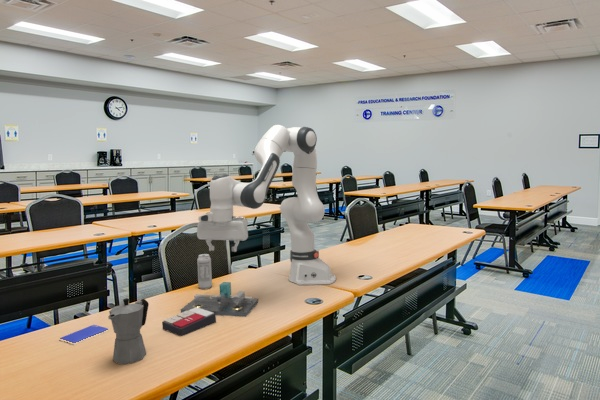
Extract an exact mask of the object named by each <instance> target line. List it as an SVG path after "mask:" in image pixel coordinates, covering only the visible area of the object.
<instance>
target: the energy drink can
mask: <svg viewBox="0 0 600 400" xmlns="http://www.w3.org/2000/svg"><path fill="white" fill-rule="evenodd" d="M196 261H197V262H196V264H197V281H198V286H197V287H199V289H200V290H208V289H211V288H212V286H213V282H212V281H213V277H212V258H211V256H210V254H208V253H202V254H198V257H197V259H196Z"/></svg>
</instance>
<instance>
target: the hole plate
mask: <svg viewBox="0 0 600 400" xmlns="http://www.w3.org/2000/svg"><path fill="white" fill-rule="evenodd" d="M245 293H246V291H243V290H242V291H241V290H239V291H238V292H237V293H236V294H235V295H230V296H229V297H228V298H225V299H224V300H222V301H221V306H219V303H218V302H217V296H218V295H219V294H218V295H215V294H195V295H194V296H193V298H194V299H193V300H191V301H190V302H189V303H187V304H185V305H184V306H183V307H182V308H180V313H182V312H184V311H188V310H190V309H193V308H195V307H198V308H201V309H204V310H207V311H210V312H213V313H215V315H216V316H223V317H224V316H227V317H242V318H243V317H244V318H245V317H247V316H248V315H249V314H250V313H251V312H252V310H253V309H255V307H256V306H257V305H258V303H259V301H260V300H259V298H254V296H246V294H245Z"/></svg>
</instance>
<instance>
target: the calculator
mask: <svg viewBox="0 0 600 400" xmlns="http://www.w3.org/2000/svg"><path fill="white" fill-rule="evenodd" d="M216 316H217V315H215V313H213V312H210V311H207V310H204V309H201V308H198V307H195V308H193V309H190V310H188V311H184V312H182V313H181V312H180V313H177V314H176V315H173V316H169V317H167V318H165V319H163V321H162V329H163V330H164V331H167V332H170V333H172V334H175V335H177V336H179V337H183V336H185V335H189V334H190V333H193V332H196V331H198V330H200V329H203V328H205V327H208V326H210V325H213V324H215V323H217V317H216Z"/></svg>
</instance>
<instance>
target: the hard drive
mask: <svg viewBox="0 0 600 400" xmlns="http://www.w3.org/2000/svg"><path fill="white" fill-rule="evenodd" d="M106 330H108V331H109V327H108V328H107V327H104V326H100V325H97V324H92V325H89V326H87V327H85V328H82V329H79V330H77V331H75V332H72V333H70V334H66V335H64V336H62V337H59V338H60V339H63V340H66V341H69V342H72V343H76V342H79V341H81V340H83V339H86V338H88V337H91V336H94V335H96V334H99V333H102V332H104V331H106Z"/></svg>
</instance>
